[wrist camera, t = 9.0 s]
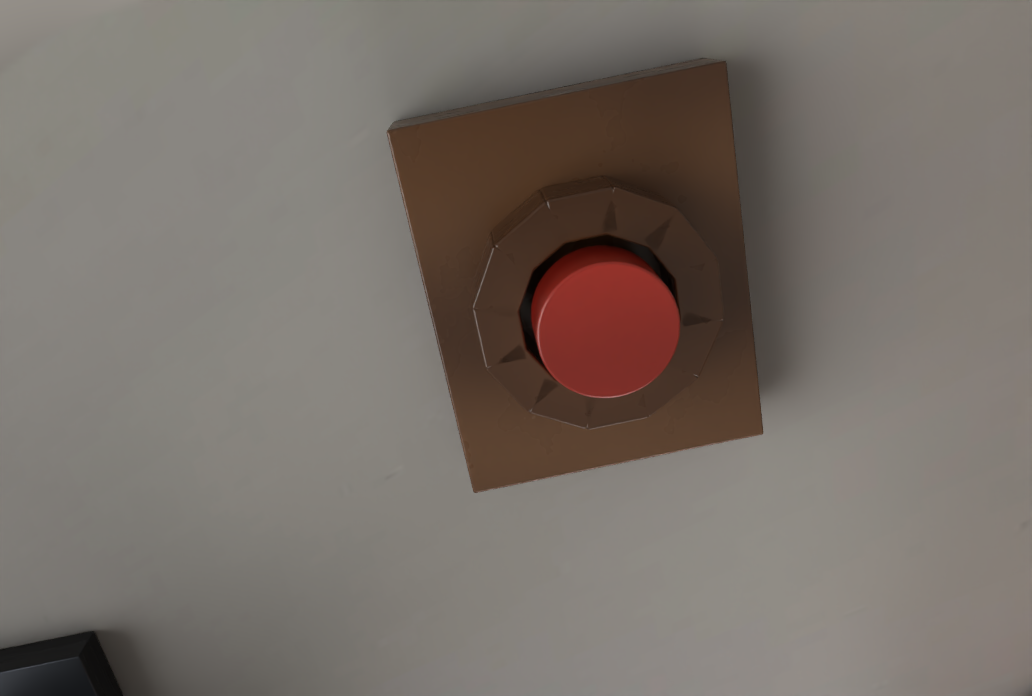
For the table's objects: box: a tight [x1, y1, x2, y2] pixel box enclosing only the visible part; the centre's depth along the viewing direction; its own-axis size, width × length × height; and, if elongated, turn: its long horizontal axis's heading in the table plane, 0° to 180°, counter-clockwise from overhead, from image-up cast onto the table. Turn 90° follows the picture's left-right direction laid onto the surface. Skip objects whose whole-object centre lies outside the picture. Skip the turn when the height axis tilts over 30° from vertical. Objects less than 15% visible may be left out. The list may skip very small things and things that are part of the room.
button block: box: [387, 58, 763, 493], centre depth 24 cm, size 11×9×4 cm
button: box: [531, 245, 680, 398], centre depth 22 cm, size 4×4×2 cm
